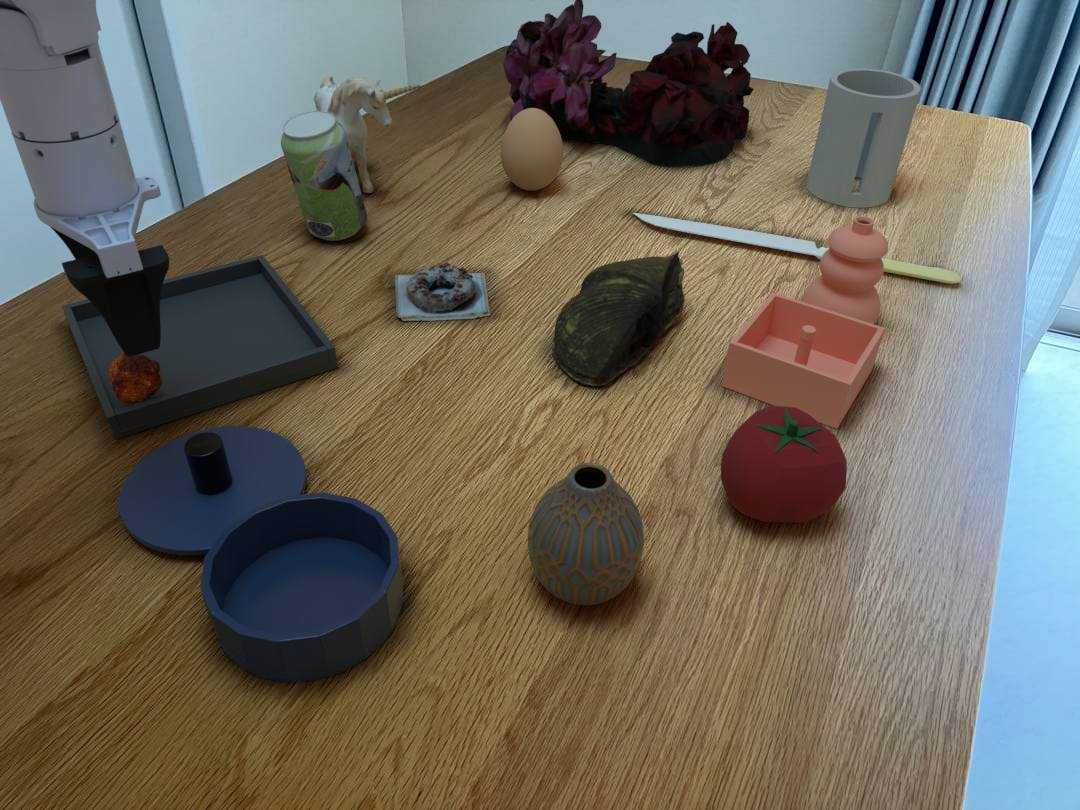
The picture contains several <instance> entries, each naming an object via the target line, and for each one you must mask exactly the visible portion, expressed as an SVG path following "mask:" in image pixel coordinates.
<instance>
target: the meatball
mask: <svg viewBox="0 0 1080 810" xmlns="http://www.w3.org/2000/svg"><path fill="white" fill-rule="evenodd" d="M109 370H110V372H109V373H110V374H109V378H110V380H111V386H112V388H113V390H114V392H115V394H116V397H117V398H118V399H120V400H121V401H123V402H125V403H133V404H137V403H139V402H141V401H146V400H145V399H146V397H147V398H149V396H153V395H154V394H155V393H157V392H158V390H159V389H160V386H161V384H162V383H163V381H162V379H161V375H160V374H159V371H160V365H159V362H157V361H155V360H151V359H149V358H148V357H146V356H144V355H139V354H138V355H135V356H131V357H128V356H127V355H126V354H125V353H124V354H122V355H120V356H118V357H117V358H116V359H115V360H114V361H113V362H112V363H111V366H110V369H109Z"/></svg>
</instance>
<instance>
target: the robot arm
mask: <svg viewBox="0 0 1080 810" xmlns="http://www.w3.org/2000/svg"><path fill="white" fill-rule="evenodd" d="M100 31H102V28H101V24H100V20H99V17H98V12H97V0H0V103H1V107H2V109H3V112H4V115H5V117H6V120H7V123H8V126H9V129H10V132H11V135H12V138H13V140H14V143H15V146H16V150H17V152H18V155H19V157H20V160H21V163H22V166H23V168H24V171H25V174H26V177H27V180H28V182H29V185H30V189H31V192H32V194H33V197H34V199H33V202H32V203H33V208H34V211H35V214H36V216H37V218H38V219H39V221H40V222H42V223H43V224H44V225H46V226H48V227H49V228H50V229H51V230H52V231H54V233H55V234H56V235H57V236H58V237H59V238H60V239H61V241H62V242H63V243H64V245H65V246H66V247H67V249H68V250H69V251H70V253H71V255H72V256H73V258H74V259H71V260H67V261H64V262H63V261H62V263H61V266H62V269H63V271H64V273H65V276H66V278H67V280H68V281H69V283H70V285H72V286H73V288H75V290H76V291H78V292H79V293H80V294H81V295H83V296H84V297H85V298H86V300H87V299H88V300H90V301H91V303H92V304H93V305H94V306H95V307H96V308H97V309H98V311H99V312H100V313H101V315H102V316H103V318H104V319H105V321H106V323H107V325H108V327H109V328H110V330H111V332H112V334H113V336H114V337H115V339H116V341H117V343H118V344H119V346H120V347H121V349H122V350H123V351H124V353H125V354H126V355H127V356H128V357H131V356H135V355H138V354H141V353H145V352H148V351H152V350H155V349H159V348H160V341H161V324H160V297H161V290H162V286H163V282H164V280H166V276H167V274H168V272H169V269H170V256H169V254H168V252H167V250H166V249H165V247H164V246H163V245H162V244H160V245H157V246H152V247H148V248H144V249H139V250H138V246H137V243H136V242H137V241H136V235H137V232H138V231H137V230H138V229H139V222H140V220H141V216H142V212H143V209H144V205H145V203H146V202H147V201H149V200H154V199H156V198H159V197H161V195H162V192H161V189H160V185H159V184H158V182H157V180H156V179H155V177H152V176H149V175H147V176H141V177H136V175H135V171H134V168H133V163H132V161H131V160H132V159H131V156H130V153H129V149H128V146H127V142H126V138H125V135H124V130H123V127H122V124H121V120H120V116H119V112H118V109H117V105H116V101H115V98H114V94H113V90H112V87H111V84H110V79H109V76H108V72H107V70H106V66H105V61H104V57H103V55H102V51H101V47H100V43H99V39H100V37H99V36H100V35H99V32H100Z"/></svg>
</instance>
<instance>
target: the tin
mask: <svg viewBox="0 0 1080 810" xmlns="http://www.w3.org/2000/svg"><path fill="white" fill-rule="evenodd" d="M399 547H400V546H399V538H398V535H397V534H396V532H395V530H394V529H393V528H392V526H391V525H390V523H389V521H388V520H387V519H386V517H385V516H384V515H383V513H382V512H381V511H378V510H377V509H375V508H374V507H372V506H370V505H368V504H367V503H364V502H363V501H361V500H360V499H357V498H355V497H350V496H345V495H339V494H333V493H329V492H313V493H303V495H293V496H287V497H283V498H280V499H278V500H275V501H272V502H270V503H267V504H264V505H262V506H259V507H257V508H254V509H252V510H250V511H249V512H247V513H246V514H245V515H243V516H242V517H241V518H239V519H238V520H237V521H235V522H234V523H232V524H231V525H230V526H228V527H227V528H226V529H224V530H223V531H222V533H221V534H220V536H219V537H218V539H217V540H216V542H215V543H214V545H213V546H212V548H211V549H210V550H209V552H208V553H207V554H205V555H204V559H203V565H202V571H201V577H200V584H199V589H200V592H201V595H202V598H203V602H204V604H205V607H206V610H207V613H208V616H209V620H210V622H211V625H212V628H213V630H214V632H215V635H216V637H217V640H218V642H219V645H220V647H221V649H222V652H223V653H224V654H225V655H226V656H227V658H229V659H230V660H231V661H232V662H233V663H234V664H235V665H236V666H238V667H239V668H240V669H242V670H244V671H246V672H247V673H249V674H251V675H253V676H256V677H259V678H262V679H266V680H269V681H275V682H282V683H301V682H311V681H316V680H321V679H325V678H328V677H332V676H336V675H338V674H340V673H342V672H344V671H347V670H349V669H351V668H353V667H354V666H356V665H358V664H359V663H361V662H363V661H364V660H365V659H367V658H369V657H370V656H371V655H372V654H373V653H374V652H376V651H377V650H378V649H379V648H380V647H381V645H382V644H384V643H385V641H386V640H387V639H388V637H389V636H390V635H391V633H392V631H393V630H394V628H395V627H396V625H397V623H398V621H399V618H400V615H401V612H402V608H403V605H404V601H405V600H404V586H403V585H404V584H403V572H402V564H401V556H400V555H401V554H400V548H399Z"/></svg>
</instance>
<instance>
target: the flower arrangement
mask: <svg viewBox="0 0 1080 810" xmlns="http://www.w3.org/2000/svg"><path fill="white" fill-rule="evenodd" d="M583 14H584V1H583V0H574V2H573V4H570V5H568V6H567V7H565V8H564V9H563V10H562V12H561V13H560V14H559V15H558V17H556V16H554V14H551V13H550V12H549V13H545V14H544V21H542V20H535V21H531V20H529V21H526V22H524V23H523V24H521V25H520V27H519V28H518V30H517V36H516V38H515V39H513V40H512V41H511V43H510V44H509V46H508V47H507V49H506V51H505V57H504V60H503V63H502V64H503V71H504V73H505V77H506V79H507V82H508V83H509V84H510V90H509V92H508V95H509V97H510V98H511V100H512V102H513V103H514V105H513V106H512V107H511V110H510V112H509V113H510V114H509V115H510V121H511V120H512V119H513V117H514V116H516V115H517V114H518V113H519V112H521V111H523V110H525V109H528V108H537V109H540V110H542V111H544V112H545V113H547V114H548V115H549V116H550V117H551V118H552V119H553V121H554V123H555V124H556V126H557V128H558V130H559V132H560V135H561V139H569V140H575V141H582V142H586V143H594V144H601V145H602V144H603V145H610V146H614V147H617V148H619V149H620V150H623V151H624V152H625V151H626V152H627V153H630V154H632V155H634V156H636V157H638V158H640V159H642V160H644V161H646V162H648V163H650V164H651V165H657V166H663V167H668V168H670V167H673V168H674V167H675V168H677V167H704V166H708V165H713V164H715V163H718V162H720V161H723V160H725V159H726V158H727V157H728V156H729V154H730V153H731V152H732V151H733V149H734V145H735V142H736V141H738V140H742V139H744V138H746V134H747V130H748V126H749V122H750V121H749V120H750V109H749V108H747V107H745V106H744V105H745V99H744V97H749V96H751V95H752V94H753V91H754V89H755V88H753V87H751V86H750V83H751V75H752V73H751V72H749V70H748V69H747V68H746V67H745V65H747V63H748V62H749V60H750V57H751V54H750V52H749V50H748V48H747V47H746V45H744V44H743V43H736V41H737V36H738V32H737V29H735V28H734V26H733V25H732V23H730V22H729V21H727V22H726V24H725V25H724V24H723V25H720V26H719V28H717V30H716V31H715V23H714V24H711V27H710V33H709V36H708V39H707V42H706V51H705V50H704V49H703V47H700V46H699V44H700V43H701V42H702V41H703V40H704V39H705V36H704V33H702V32H700V31H691V32H689V33H686V34H685V33H681V32H675V33H674V34H672V35H671V36H670V40H671V44H669V45H668V47H666V49H665V50H664V51H663V52H661V53H658V54H655V55H653V56H652V58H651V59H650V62H649V63H648V65H647V67H645V69H641V70H635V71H633V72H631V73H630V76H629V83H628V84H627V85H626V86H625V87H624V89H623V88H622V87H612V86H608V82H604V81H603V77H604V76H606V75H607V74H608V73H610V72H611V71H612V70H613V69H614V68H615V67H616V61H617V52H613V53H611V54H610V55H609V56H608V57H607V58H605V59H603V60H601V61H600V57H601V56H603V54H604V53H606V52H607V49H606V50H605V49H598V44H597V43H595V42H593V41H595V40H596V39H597V37H598V35H599V33H600V31H601V29H602V22H601V21H600V19H599V18H598V17H597V16H596V15H595V14H593V15H592V14H589V15H583ZM728 69H731V72H730V73H728V74H727V75H726V74H725V72H726V71H727V70H728Z"/></svg>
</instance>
